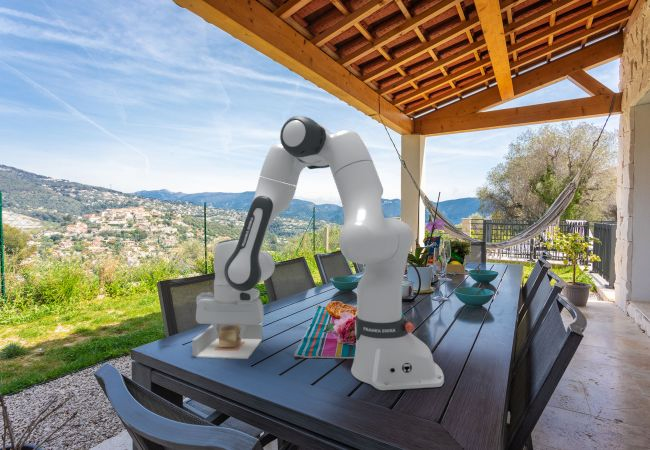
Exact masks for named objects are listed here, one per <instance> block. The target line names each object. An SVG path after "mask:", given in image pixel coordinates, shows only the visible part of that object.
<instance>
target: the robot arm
mask: <svg viewBox="0 0 650 450" xmlns="http://www.w3.org/2000/svg"><path fill="white" fill-rule="evenodd" d="M279 139H280V142H278V143H275V144H272V146H271V147H269V150H268V152H267V155H266V156H265V159H264V161H263V164H262V166H261V171H260V174H259V177H258V182H257V185H256V189H255V192H254V196H253V199H252V201H251V205H250V207H249V209H248V212H247V215H246V218H245V221H244V224H243V227H242V229H241V233H240V235H239V238H233V239H226V240H221V241H219V242H217V243H216V245H215V247H214V251H213V271H214V276H215V277H214V281H213V292H203V291H202V292H201V293H199V294H197V295H196V298H195V300H196V301H195V303H196V311H195V321H196V323H197V324H199V325H200V324H201V325H204V324H205V325H212V326H213V329H214V331H215V332H216V338H219V330H220V329H219V327H218V326H219V325H220V324H240V326H241V328H242V330H241V331H239V332H238V333H237V339H243V337H244V331H245V329H246V327H247V325H259V324H262V323H263V321H264V307H263V302H262V300H261V298H259V297H260V294H261V292H260V290H259V289H257V288H255V287H256V286H257V285H259V284H261V283H263V282H264V281H266V280H268V279H269V278H271V277H272V276H273V274H274V273H275V270H276V269H275V268H276V262H275V259H274V257H273V255H272V254H271V253H270V252H269V251H266V250H264V249H263V250H262V248H263V244H264V241H265V238H266V235H267V233H268V229H269V227H270V225H271V224H272V222H273V221H274V220H275V218H277V217H278V216H279V215H280V214H282V213H283V212H284V211H286V210H287V209H288V208H289V207H290V205H291V203H292V201H293V200H294V196H295V194H296V190H297V186H298V183H299V177H300V175H301V173H302V171H303V170H304V169H305V168H307V169H309V170H315V169H327V168H330V171H331V174H332V177H333V180H334V183H335V187H336V189H337V192H338V195H339V198H340V201H341V205H342V212H343V227H342V229H341V231H340V234H339V237H338V245H339V249H340V250H339V251H341V254H342V255H343V257H344V258H345V259H346V260H348V261H349V262H351V263H354V264H360V265H365V268H364V270H363V274H362V276H361V277H360V279H359V281H358V282H357V283H358V284H357V288H356V292H357V293H356V304H357V305H356V308H357V309H356V311H357V312H356V313H357V314H356V315H355V320H354V335H355V340H356V343H355V353H354V358H353V362H352V365H351V369H350V372H351V374H352V376H353V377H354V378H355V379H357V380H358V381H360V382H363V383H366V384H369V385H370V386H371V387H372V386H373V387H374V388H375V389H376V390H379V391H391V390H392V391H393V390H407V389H408V390H411V389H423V388H424V389H425V388H439V387H443V384H444V383H445V376H444V372H443V370H442V369H441V367H440V366H439V365H438V364H437V363H436V362H434V357H433V353H432V352H431V350H430V348H429V347H428V346H427V344H425V343H424V342H423V341H422V340H420V339H419V337H417V336H415V335H414V334H413V332H414V331H415V326H414V324H413V323H412V322H411V321H410V319H408V318H407V317H406V316H402V314H403V313H402V310H403V309H402V308H403V307H402V305H403V304H402V303H403V302H402V301H403V298H402V297H403V284H404V283H403V281H404V277H405V271H406V266H407V261H408V258H409V257H408V256H409V253H410V250H411V249H412V246H413V245H414V242H415V241H414V240H415V239H414V237H415V236H414V232H413V229H412V228H411V226H410V225H409V224H408V223H406V222H405V221H402V220H400V219H398V218H395V217H385V215H384V212H383V204H382V196H383V194H384V187H383V185H382V182H381V178H380V177H379V174H378V171H377V169H376V167H375V166H376V165H375V163H374V161H373V159H372V156H371V154H370V152H369V150H368V147H366V144H365V143H364V141H363V140H362V137H361V136H360V135H359V134H358V132H356V131H354V130H352V129H343V130H339V131H337V132H335V133H333V132H331V131H330V130H328V128H326V127H325V126H324V125H322V124H321V123H319V122H317V121H316V120H314V119H312V118H310V117H307V116H305V115H304V116H302V115H296V116H292V117H290V118H289V119H287V120H286V121H285V122H284V124H283V125H282V127H281V129H280V134H279Z"/></svg>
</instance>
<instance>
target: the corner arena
mask: <svg viewBox="0 0 650 450" xmlns="http://www.w3.org/2000/svg"><path fill="white" fill-rule="evenodd" d="M225 325H240V324H220V325H219V326H218V327H219V329H221V328H222V327H223V326H225ZM241 330H242V328H241ZM263 339H264V324H263V323H260V324H259V325H247V327H246V329H245V331H244V337H243V339H241V342H240V343H239V344H238V345H237V346H236V347H219V338H216V332H215V331H214V329H213V326H212V324H210V326H208V327H207V328H205V330H203V331H202V332H200V333H199V334H198V335H197V336H195V337H194V338H193V339H191V346H192V347H191V348H192V351H191V352H192V354H191V355H192V356H191V357H192V358H204V359H205V358H208V359H209V358H212V359H235V360H237V359H240V360H242V359H244V360H248V359H249V358H250V356H252V354H253V353H254V352H255V350H256V348H257V347H258V346H259V345H260V344H261V342H262V341H263Z"/></svg>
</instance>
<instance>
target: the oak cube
mask: <svg viewBox="0 0 650 450" xmlns="http://www.w3.org/2000/svg"><path fill="white" fill-rule="evenodd" d="M239 331H241V326H240V325H225V326H223V327H222V328H221V329H220V330H219V347H236V346H237V345H238V344H239V343H240V342H241V339H237V333H238V332H239Z"/></svg>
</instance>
